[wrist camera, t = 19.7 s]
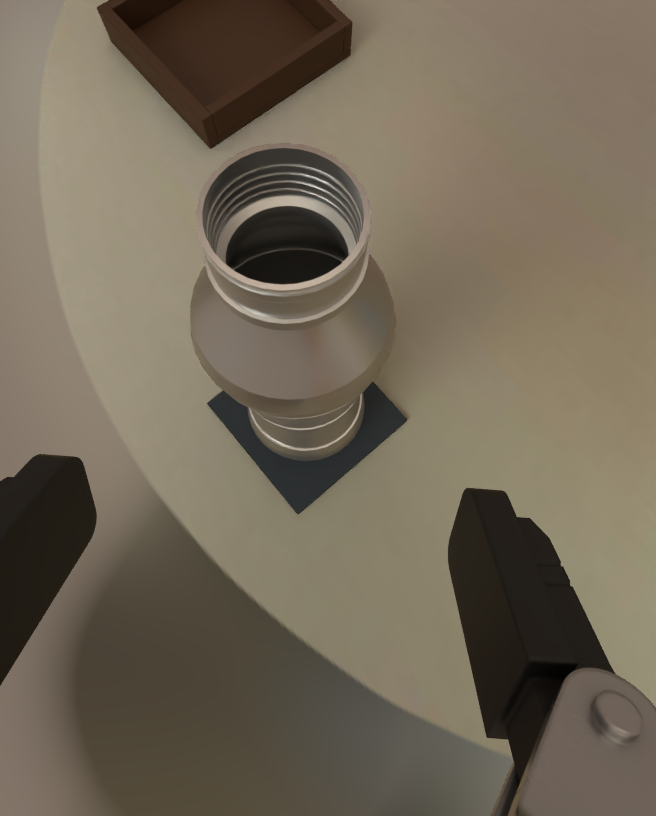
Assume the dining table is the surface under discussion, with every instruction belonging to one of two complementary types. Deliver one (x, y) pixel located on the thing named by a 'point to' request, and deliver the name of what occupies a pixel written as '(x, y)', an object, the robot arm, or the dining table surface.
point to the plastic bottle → (290, 296)
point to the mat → (314, 477)
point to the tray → (227, 53)
